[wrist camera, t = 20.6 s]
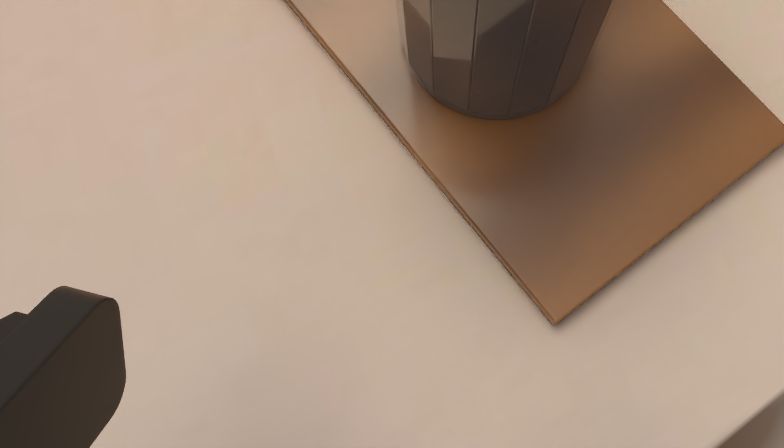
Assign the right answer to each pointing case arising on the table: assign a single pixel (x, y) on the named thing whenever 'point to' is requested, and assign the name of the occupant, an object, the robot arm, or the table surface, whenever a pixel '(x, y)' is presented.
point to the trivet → (569, 143)
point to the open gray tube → (500, 51)
